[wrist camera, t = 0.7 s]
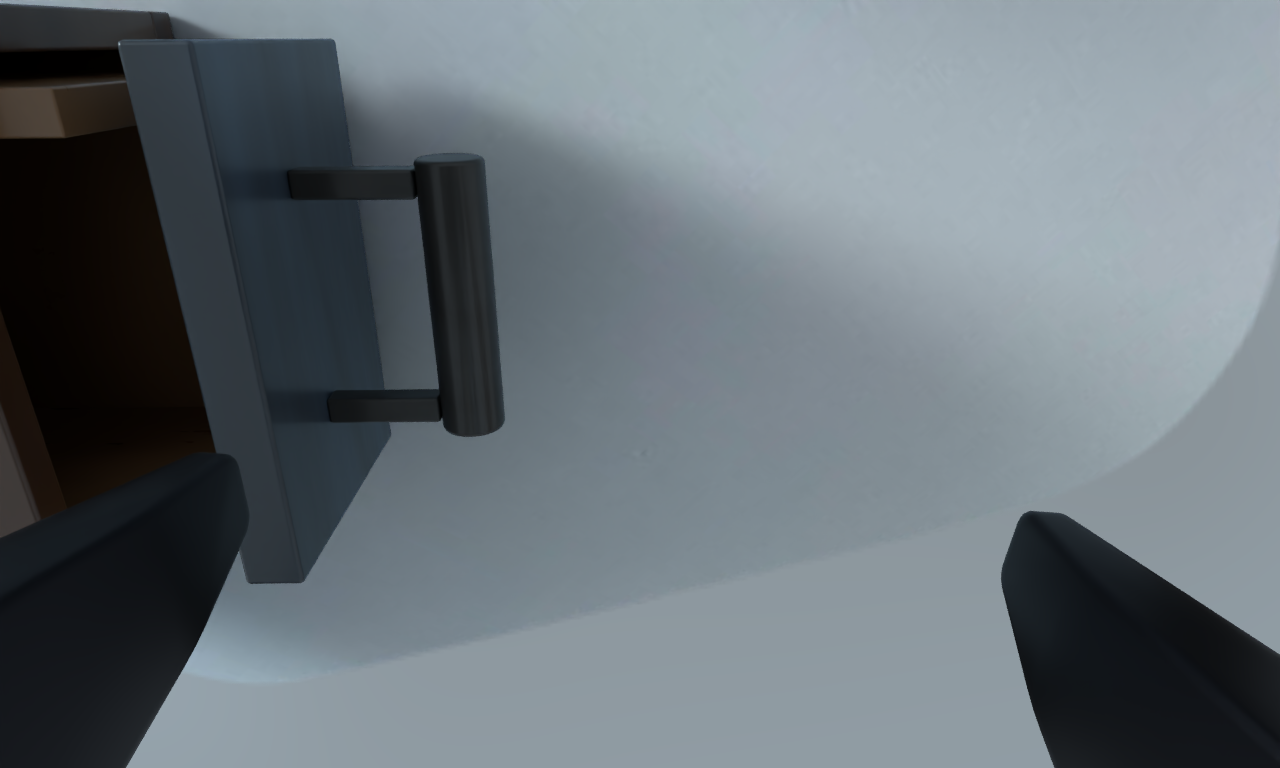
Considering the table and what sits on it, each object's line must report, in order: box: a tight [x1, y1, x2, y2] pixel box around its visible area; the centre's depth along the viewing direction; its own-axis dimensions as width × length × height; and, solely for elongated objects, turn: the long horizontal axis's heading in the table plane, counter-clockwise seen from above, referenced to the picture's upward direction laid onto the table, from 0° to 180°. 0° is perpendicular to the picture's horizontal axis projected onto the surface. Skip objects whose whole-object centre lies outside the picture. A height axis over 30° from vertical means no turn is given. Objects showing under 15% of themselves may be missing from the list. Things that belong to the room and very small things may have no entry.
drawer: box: [0, 39, 505, 584], centre depth 18 cm, size 16×10×7 cm, turn 90°
